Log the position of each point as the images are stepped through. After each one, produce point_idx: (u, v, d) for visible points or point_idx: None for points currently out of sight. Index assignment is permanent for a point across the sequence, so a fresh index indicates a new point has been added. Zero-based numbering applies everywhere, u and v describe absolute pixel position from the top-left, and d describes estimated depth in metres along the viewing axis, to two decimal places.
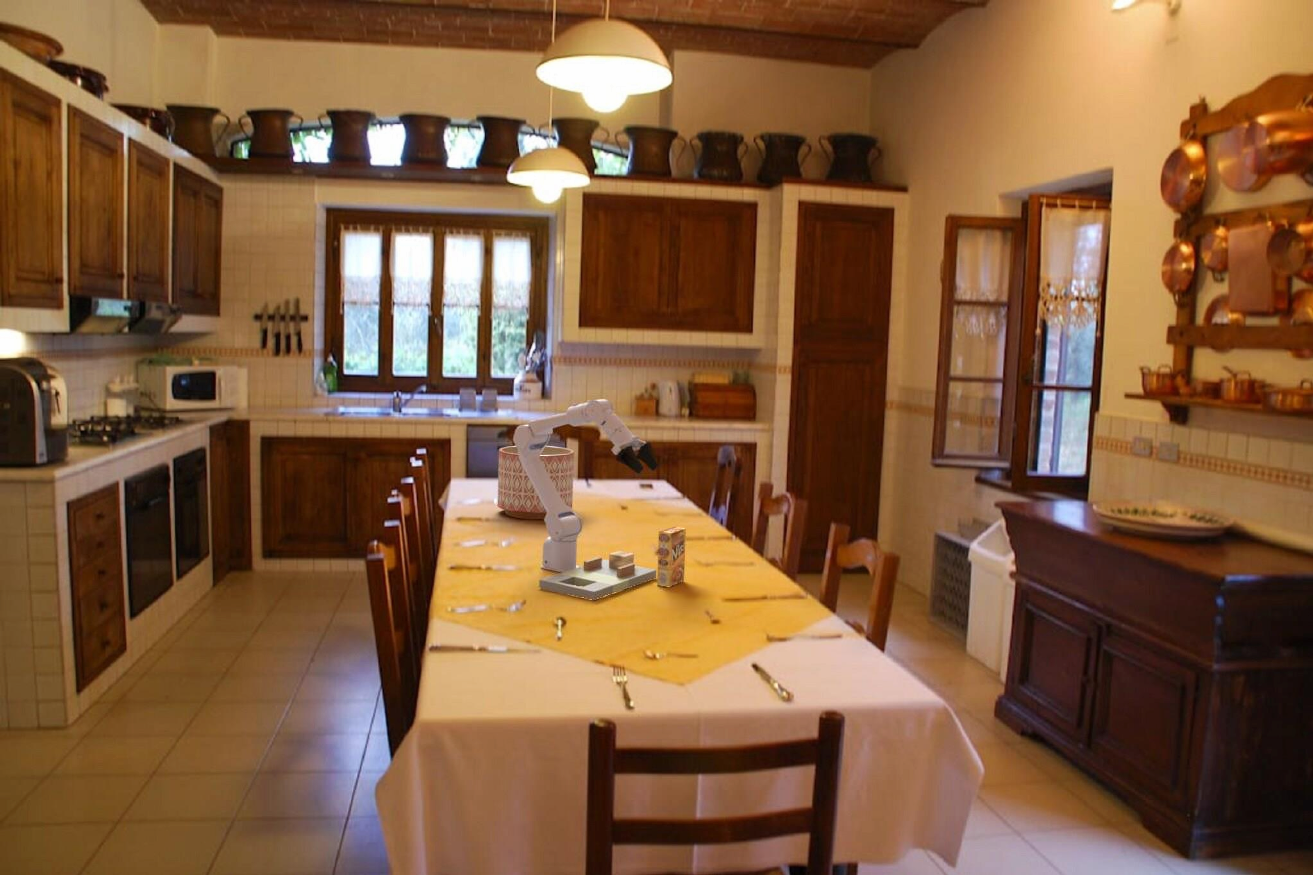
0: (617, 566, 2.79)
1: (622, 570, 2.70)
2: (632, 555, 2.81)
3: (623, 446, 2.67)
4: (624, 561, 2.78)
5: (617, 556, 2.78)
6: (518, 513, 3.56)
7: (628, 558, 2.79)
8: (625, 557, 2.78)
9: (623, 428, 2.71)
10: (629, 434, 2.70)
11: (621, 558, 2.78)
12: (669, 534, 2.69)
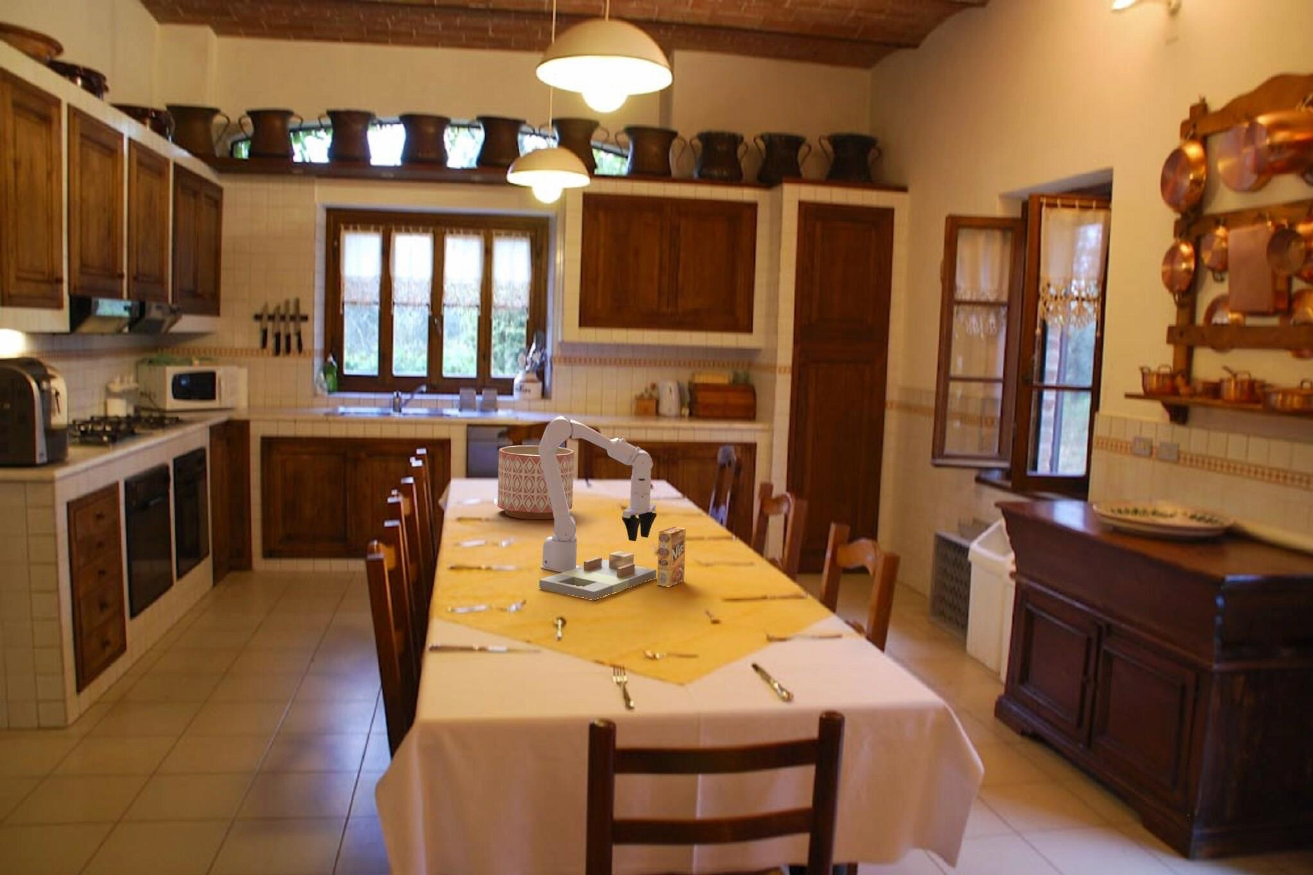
0: (617, 566, 2.79)
1: (622, 570, 2.70)
2: (632, 555, 2.81)
3: (634, 512, 2.83)
4: (624, 561, 2.78)
5: (617, 556, 2.78)
6: (518, 513, 3.56)
7: (628, 558, 2.79)
8: (625, 557, 2.78)
9: (646, 496, 2.84)
10: (646, 504, 2.84)
11: (621, 558, 2.78)
12: (669, 534, 2.69)
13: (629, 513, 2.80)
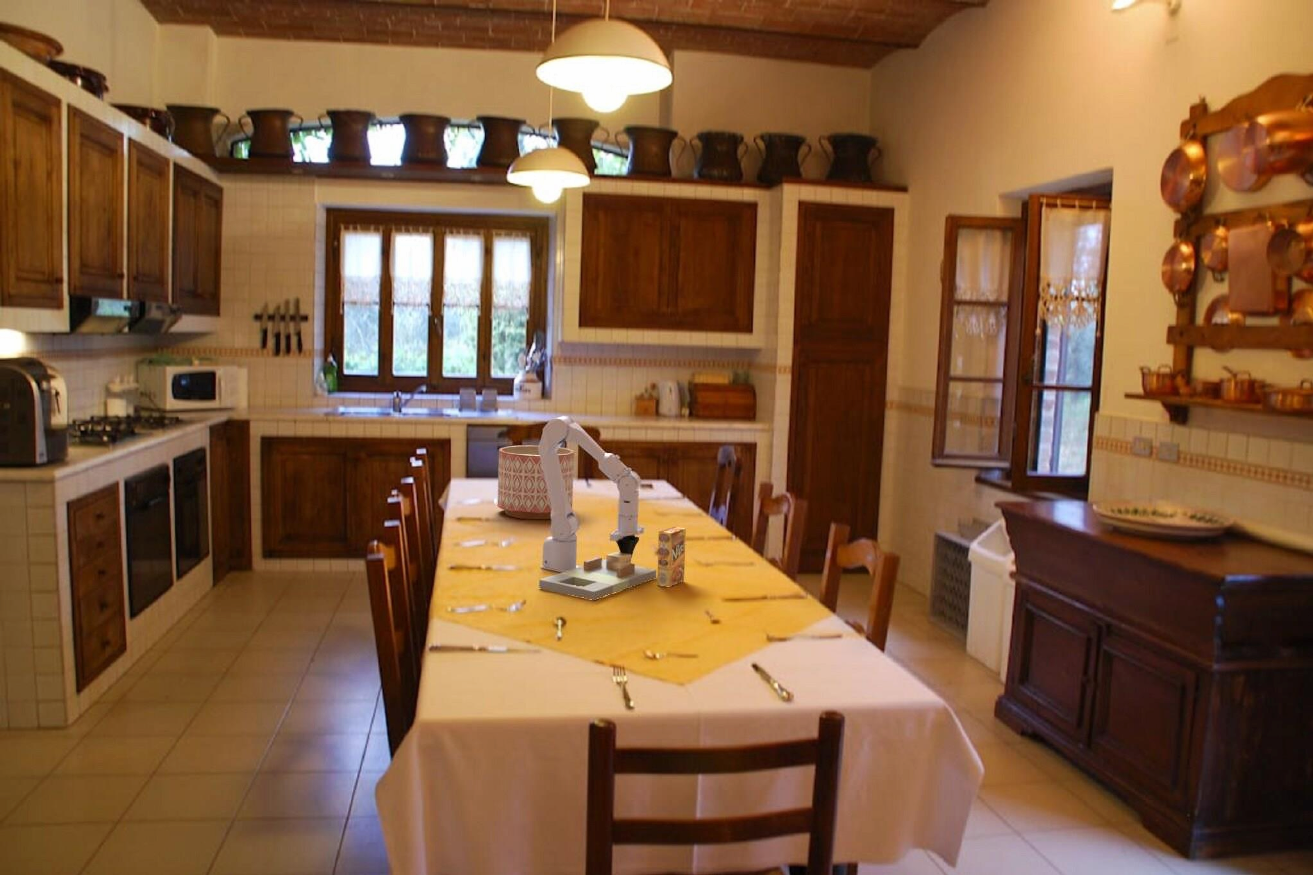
0: (614, 567, 2.77)
1: (622, 570, 2.70)
2: (629, 556, 2.80)
3: None
4: (621, 562, 2.77)
5: (614, 557, 2.77)
6: (518, 513, 3.56)
7: (625, 559, 2.78)
8: (622, 558, 2.77)
9: (634, 518, 2.79)
10: (634, 526, 2.80)
11: (619, 559, 2.76)
12: (669, 534, 2.69)
13: (616, 536, 2.76)
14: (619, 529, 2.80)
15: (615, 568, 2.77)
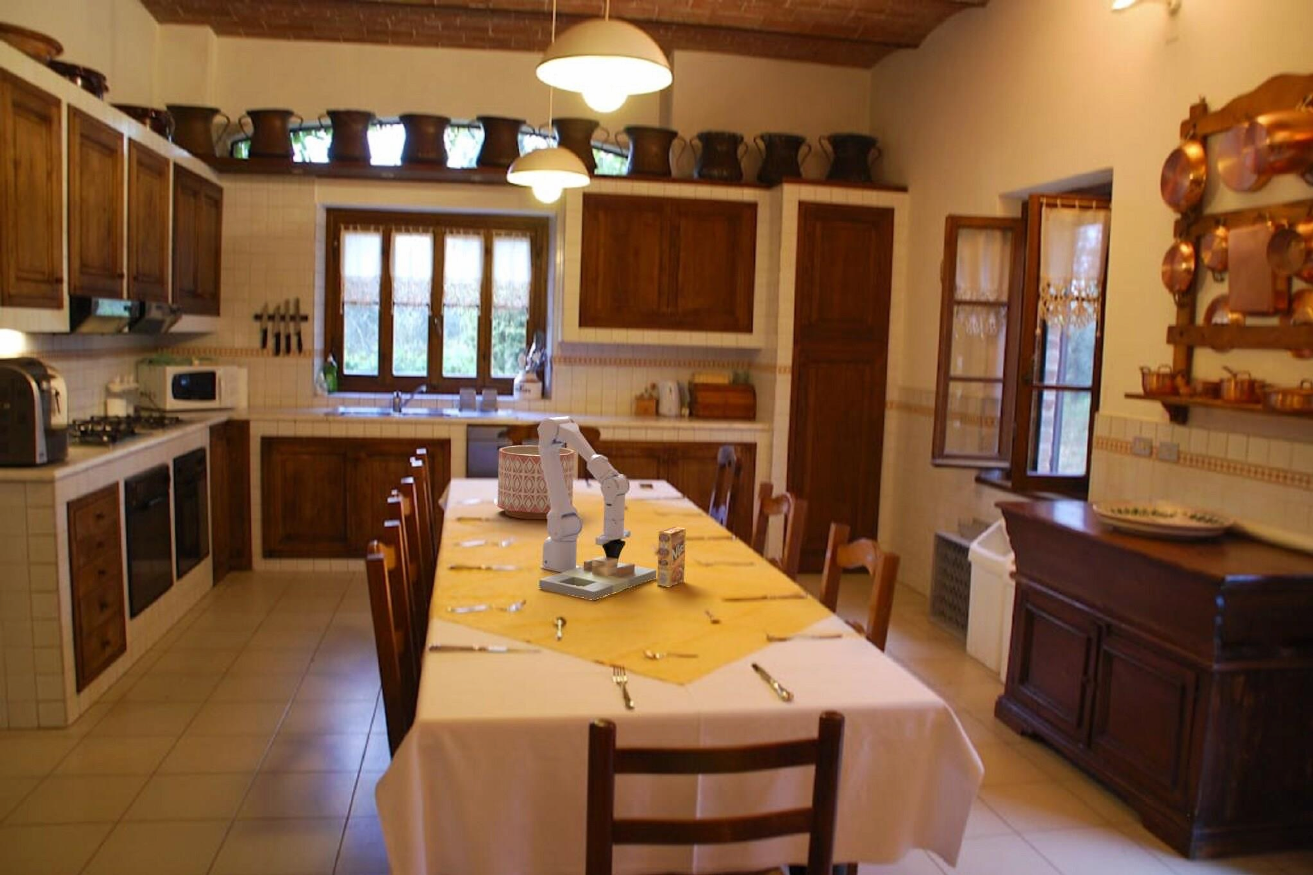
0: (600, 572, 2.71)
1: (622, 570, 2.70)
2: (616, 560, 2.74)
3: None
4: (608, 567, 2.71)
5: (600, 562, 2.71)
6: (518, 513, 3.56)
7: (612, 564, 2.72)
8: (609, 563, 2.71)
9: (620, 522, 2.74)
10: (620, 530, 2.74)
11: (605, 563, 2.70)
12: (669, 534, 2.69)
13: (602, 540, 2.70)
14: (605, 533, 2.74)
15: (601, 573, 2.71)
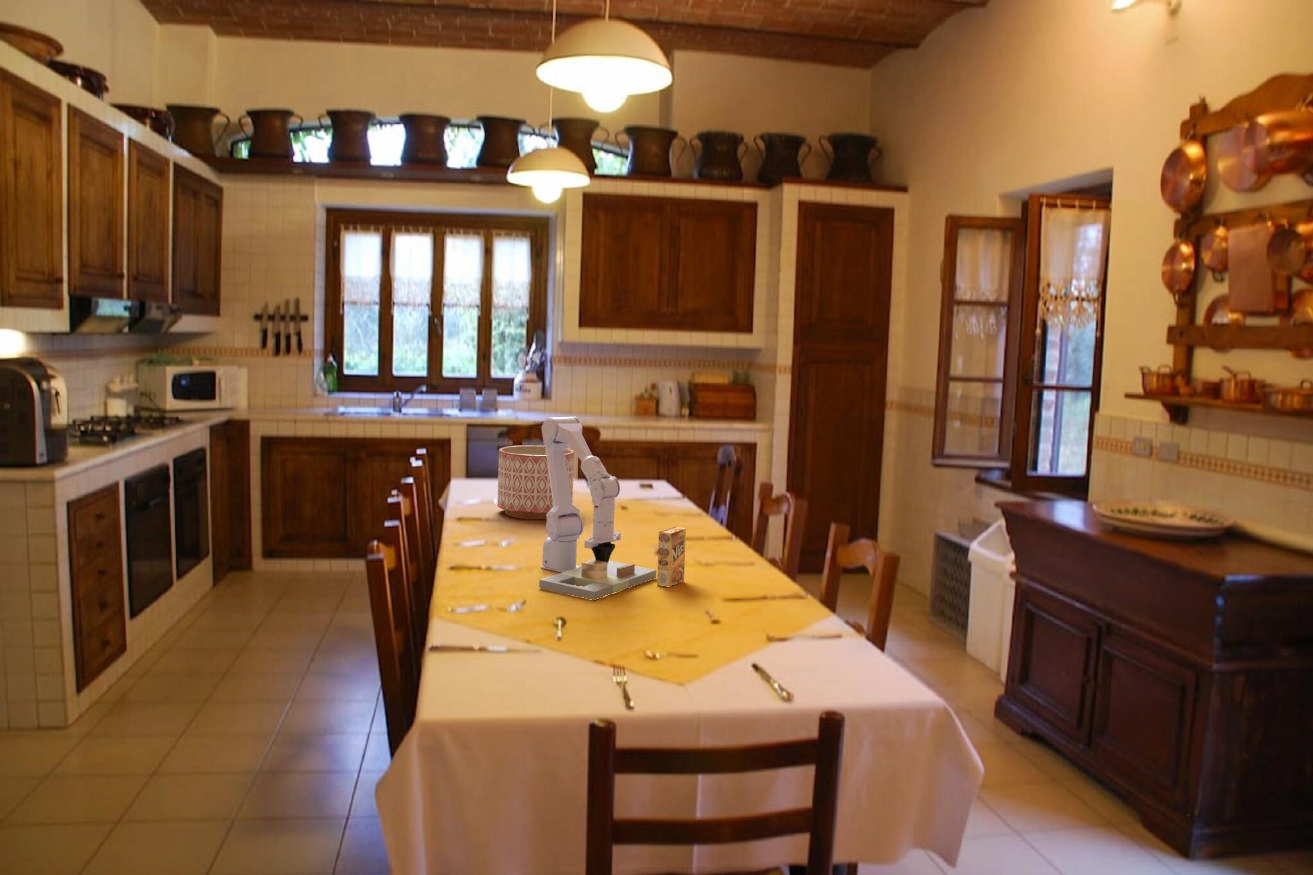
0: (590, 575, 2.67)
1: (622, 570, 2.70)
2: (606, 564, 2.70)
3: None
4: (597, 570, 2.66)
5: (590, 565, 2.67)
6: (518, 513, 3.56)
7: (601, 567, 2.68)
8: (598, 566, 2.67)
9: (609, 525, 2.69)
10: (610, 533, 2.70)
11: (594, 567, 2.66)
12: (669, 534, 2.69)
13: (591, 543, 2.66)
14: (594, 536, 2.70)
15: (590, 576, 2.67)
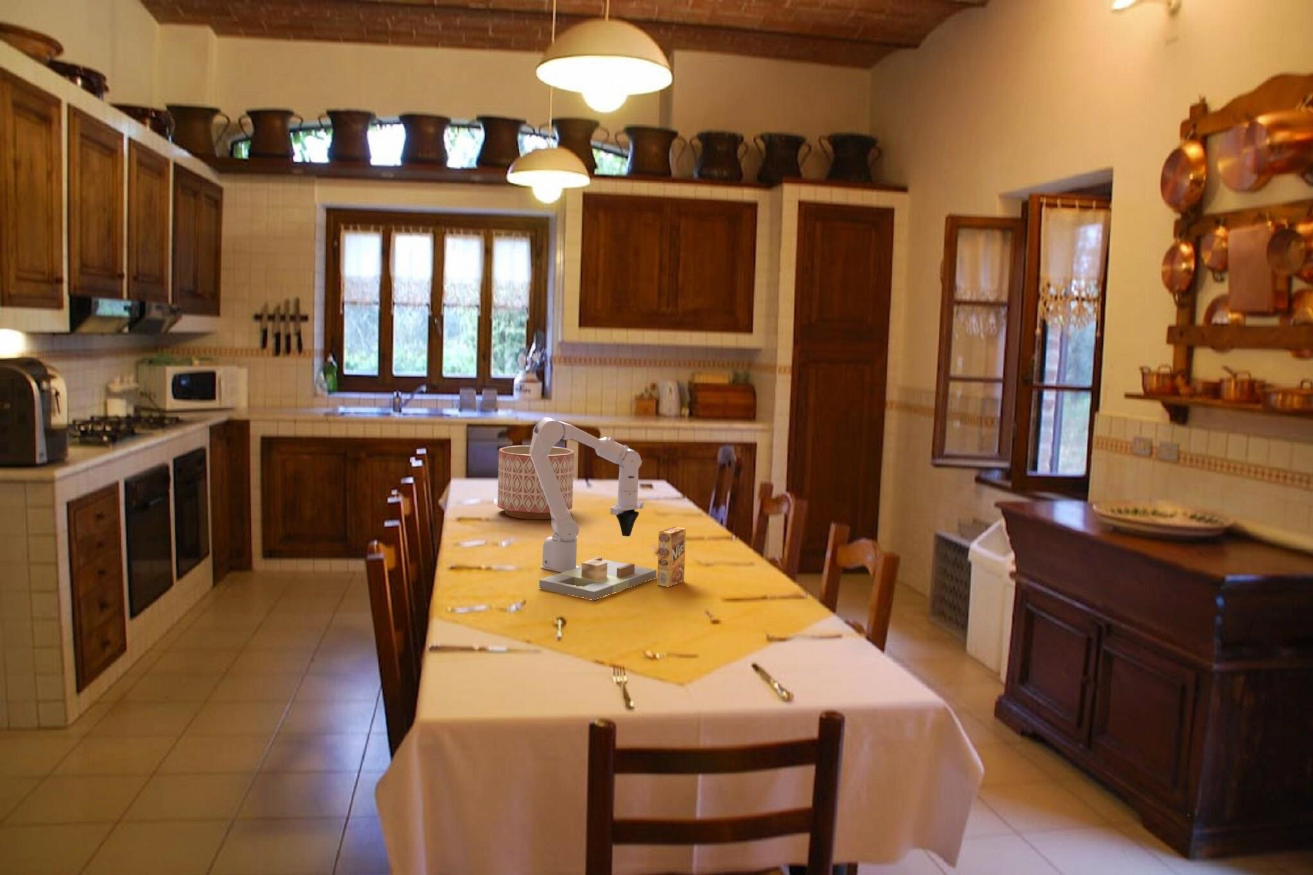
0: (590, 575, 2.67)
1: (622, 570, 2.70)
2: (606, 564, 2.70)
3: (622, 509, 2.86)
4: (597, 570, 2.66)
5: (590, 565, 2.67)
6: (518, 513, 3.56)
7: (601, 567, 2.68)
8: (598, 566, 2.67)
9: (633, 493, 2.87)
10: (634, 501, 2.88)
11: (594, 567, 2.66)
12: (669, 534, 2.69)
13: (616, 510, 2.84)
14: (619, 504, 2.88)
15: (590, 576, 2.67)
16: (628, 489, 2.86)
